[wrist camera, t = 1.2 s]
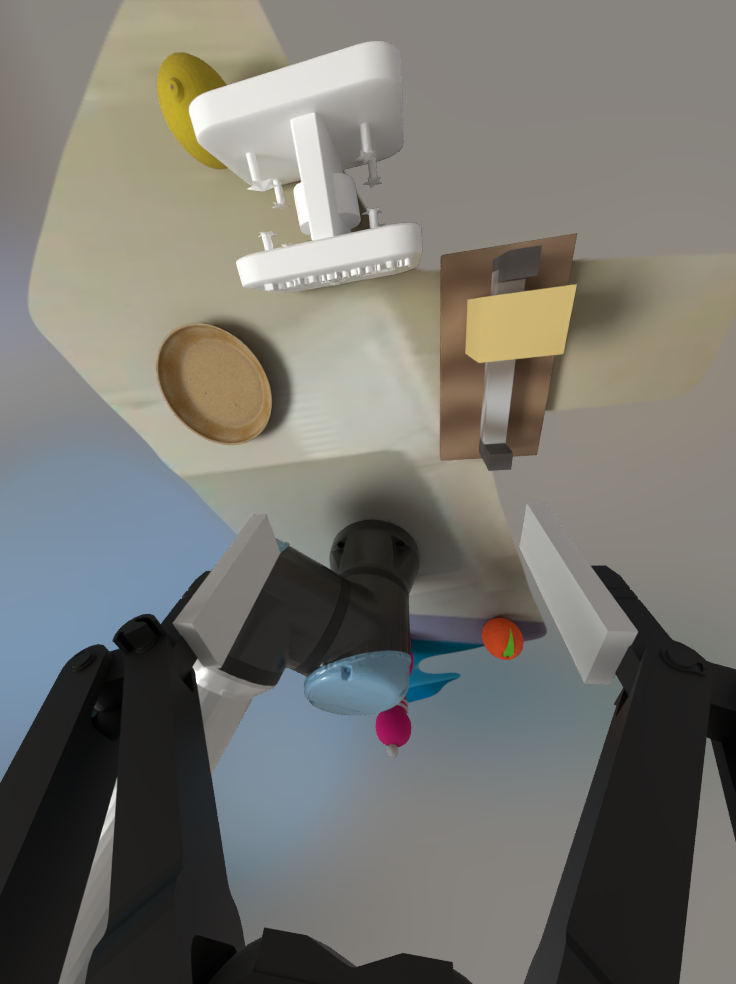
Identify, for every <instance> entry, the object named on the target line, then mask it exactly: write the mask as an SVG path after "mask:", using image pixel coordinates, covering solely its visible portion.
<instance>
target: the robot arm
mask: <svg viewBox="0 0 736 984" xmlns="http://www.w3.org/2000/svg"><path fill="white" fill-rule="evenodd" d="M289 545H290V544H289V543H288V542H285V543H284V542H282V541H280V540H278V539H276V538H275V536H274V534H273V531H272V528H271V525H270V522H269V520H268V517H267V514H262V515H253V516H252V517H251V519H250V520H249V521H248V523H247V524H246V525H245V527H244V528H243V529H242V531H241V532H240V533H239V535H238V536H237V538H236V539H235V540H234V542H233V543H232V544H231V546H230V547H229V548H228V550H227V551H226V552H225V554H224V555H223V556H222V558H221V559H220V560H219V562H218V563H217V564H216V565H215V567H214V568H213V569H212V570H211V571H206V572H204V573H203V574H202V575H201V576H199V577H198V578H197V579H196V580H195V581H194V582H193V584H192V585H191V586H190V587H189V589H188V591H186V592H185V594H184V595H183V596H182V599H180V600H179V601H178V603H177V604H176V605H175V606H174V608H173V609H172V610H171V612H170V613H169V614H168V616H167V617H166V618H165V619H164V621H163V622H162V623H161V624H160V623H159V621H158V620H157V619H156V617H155V616H154V615H151V614H143V615H140V616H138V617H135V618H133V619H132V620H130V621H128V622H127V623H126V624H124V625H123V626H122V627H121V628H120V629H119V630H118V631H117V633H116V634H115V636H114V638H113V642H114V643H115V644H116V645H117V646H118V647H119V648H120V649H117V650H114V651H108V649H106V647H105V646H104V645H100V644H97V645H93V646H90V647H88V648H86V649H83V650H82V651H80V652H79V653H77V654H76V655H74V657H72V658H71V659H70V660H69V661H68V662H67V663H66V664H65V666H64V667H63V669H62V670H61V672H60V674H59V675H58V677H57V679H56V681H55V683H54V685H53V687H52V688H51V690H50V692H49V694H48V696H47V698H46V700H45V701H44V703H43V705H42V707H41V709H40V711H39V713H38V714H37V716H36V718H35V720H34V722H33V724H32V725H31V727H30V729H29V731H28V733H27V735H26V736H25V739H24V740H23V742H22V744H21V746H20V748H19V749H18V751H17V753H16V755H15V757H14V759H13V760H12V762H11V764H10V766H9V768H8V770H7V772H6V773H5V775H4V777H3V779H2V781H1V783H0V984H472V983H471V982H470V981H469V980H468V979H467V978H466V977H464V976H463V975H461V974H460V973H459V972H457V971H456V970H454V969H453V962H449V961H443V960H438V959H432V958H426V957H422V956H416V955H411V954H405V953H402V954H398V955H395V956H392V957H388V958H385V959H382V960H379V961H375V962H372V963H368V964H365V965H362V966H358V967H356V966H355V965H353V964H352V963H351V962H349V961H348V960H347V959H345V958H344V957H342V956H341V955H340V954H338V953H337V952H336V951H334V950H333V949H332V948H330V947H329V946H327V945H325V944H323V943H321V942H319V941H317V940H315V939H313V938H311V937H309V936H307V935H302V934H296V933H291V932H286V931H280V930H275V929H270V928H264V931H263V935H262V938H259V939H257V940H255V941H254V942H252V943H250V944H248V945H247V946H245V942H244V936H243V930H242V925H241V920H240V916H239V913H238V910H237V907H236V905H235V902H234V900H233V898H232V896H231V893H230V890H229V885H228V880H227V875H226V867H225V861H224V854H223V848H222V841H221V835H220V828H219V822H218V816H217V809H216V803H215V796H214V790H213V783H212V777H211V775H212V773H213V771H214V769H215V767H216V766H217V764H218V762H219V760H220V758H221V756H222V755H223V753H224V751H225V749H226V747H227V745H228V744H229V741H230V740H231V738H232V736H233V734H234V732H235V731H236V729H237V727H238V725H239V723H240V721H241V719H242V718H243V716H244V714H245V712H246V710H247V708H248V706H249V705H250V703H251V701H252V699H253V698H254V697H255V696H257V695H259V694H261V693H263V692H266V691H268V690H271V689H273V688H274V687H275V686H276V684H277V683H278V681H279V679H280V677H281V675H282V673H283V671H284V669H285V668H286V667H287V668H290V669H292V670H294V671H296V672H298V673H301V674H303V675H305V676H306V680H305V682H304V693H305V697H306V699H307V700H309V702H310V703H311V704H312V705H313V706H315V707H317V708H319V709H321V710H323V711H327V712H330V713H335V714H341V715H369V714H375V713H379V712H383V711H386V710H388V709H390V708H392V707H394V706H396V705H397V704H398V703H400V702H401V701H402V699H403V698H404V697H405V695H406V693H407V691H408V686H409V669H410V664H411V657H410V624H409V593H410V591H411V588H412V586H413V583H414V581H415V578H416V576H417V573H418V569H419V552H418V548H417V545H416V543H415V542H414V540H413V539H412V537H411V536H410V535H409V534H408V533H407V532H405V531H404V530H403V529H401V528H399V527H397V526H395V525H393V524H390V523H387V522H383V521H375V520H368V521H361V522H356V523H353V524H351V525H349V526H347V527H345V528H344V529H343V530H341V531H340V532H339V533H338V535H337V536H336V538H335V539H334V542H333V545H332V548H331V551H330V568H331V570H330V569H328V568H327V567H325V566H323V565H322V564H320V563H318V562H316V561H315V560H313V559H311V558H309V557H308V556H306V555H304V554H303V553H301V552H299V551H297V550H296V549H294V548H292V547H290V546H289ZM519 548H520V550H521V553H522V554H523V556H524V558H525V561H526V563H527V565H528V567H529V569H530V571H531V573H532V575H533V577H534V579H535V582H536V584H537V586H538V588H539V590H540V592H541V594H542V596H543V598H544V600H545V602H546V604H547V607H548V608H549V610H550V613H551V615H552V617H553V619H554V621H555V623H556V625H557V627H558V629H559V631H560V633H561V635H562V637H563V640H564V642H565V644H566V646H567V648H568V650H569V652H570V654H571V656H572V658H573V661H574V663H575V665H576V667H577V669H578V671H579V673H580V675H581V677H582V679H583V681H584V683H585V684H608V685H610V684H611V682H612V680H613V679H614V677H615V675H617V677H618V679H619V681H620V682H621V684H622V686H623V689H622V691H621V693H620V694H619V696H618V698H617V700H616V702H615V703H614V705H616V709H615V712H614V715H613V718H612V721H611V724H610V727H609V731H608V734H607V737H606V740H605V743H604V746H603V749H602V752H601V756H600V759H599V762H598V765H597V768H596V771H595V774H594V777H593V780H592V783H591V787H590V790H589V793H588V796H587V799H586V803H585V805H584V809H583V812H582V815H581V818H580V821H579V824H578V827H577V830H576V833H575V836H574V840H573V843H572V846H571V849H570V852H569V855H568V858H567V862H566V865H565V868H564V871H563V874H562V877H561V880H560V883H559V886H558V889H557V892H556V896H555V899H554V902H553V905H552V908H551V911H550V914H549V917H548V920H547V924H546V927H545V930H544V933H543V936H542V939H541V942H540V944H539V947H538V949H537V951H536V953H535V955H534V958H533V960H532V962H531V965H530V967H529V970H528V973H527V976H526V979H525V982H524V984H679V980H680V971H681V962H682V953H683V943H684V935H685V926H686V916H687V908H688V899H689V890H690V881H691V872H692V863H693V853H694V845H695V836H696V827H697V818H698V809H699V800H700V791H701V782H702V773H703V764H704V755H705V746H706V737H707V738H710V739H711V742H712V746H713V750H714V754H715V758H716V763H717V767H718V770H719V775H720V779H721V783H722V787H723V791H724V795H725V799H726V804H727V808H728V811H729V816H730V820H731V824H732V828H733V832H734V836H735V840H736V669H732V668H729V667H725V666H721V665H718V664H714V663H711V662H708V661H706V660H705V659H704V658H703V657H702V656H701V655H699V654H698V653H697V652H696V651H695V650H693V649H691V648H689V647H688V646H686V645H684V644H682V643H680V642H677V641H674V640H672V639H671V638H670V637H669V635H668V634H667V633H666V632H665V630H664V629H663V628H662V627H661V626H660V624H659V623H658V622H657V621H656V619H655V618H654V617H653V616H652V614H651V613H650V612H649V611H648V610H647V608H646V607H645V606H644V605H643V603H642V602H641V601H640V600H638V597H637V596H636V595H635V593H634V592H633V591H632V590H630V587H629V586H628V585H627V584H626V583H625V581H624V580H623V579H622V577H621V576H620V575H618V574H617V573H616V572H614V571H613V570H611V569H610V568H608V567H607V566H590V565H589V563H588V562H587V561H586V559H585V558H584V556H583V555H582V554H581V552H580V551H579V549H578V548H577V547H576V545H575V544H574V543H573V541H572V540H571V539H570V537H569V536H568V534H567V533H566V532H565V530H564V529H563V527H562V526H561V525H560V523H559V522H558V521H557V519H556V518H555V517H554V515H553V514H552V512H551V511H550V510H549V508H548V507H547V506H546V504H545V503H527V506H526V511H525V518H524V523H523V529H522V535H521V541H520V546H519Z"/></svg>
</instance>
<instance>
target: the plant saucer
mask: <svg viewBox="0 0 736 984" xmlns="http://www.w3.org/2000/svg"><path fill="white" fill-rule="evenodd" d="M156 373H157V380H158V384H159V387H160V390H161V392H162V395H163V397H164V399H165V401H166V403H167V404H168V406H169V408H170V409H171V411H172V412H173V413H174V415H175V416H176V417H177V418H178V419H179V420H180V421H181V422H182V423H183V424H184V425H185V426H186V427H187V428H189V429H190V430H191V431H193V432H194V433H196V434H197V435H199V436H201V437H203V438H205V439H207V440H209V441H212V442H215V443H219V444H224V445H237V444H243V443H246V442H248V441H250V440H252V439H254V438H255V437H257V436H258V435H259V434H260V433H261V432H262V431H263V430H264V428H265V427H266V425H267V423H268V421H269V418H270V415H271V410H272V394H271V388H270V384H269V381H268V378H267V376H266V373H265V371H264V369H263V367H262V365H261V364H260V362H259V361H258V359H257V358H256V356H255V355H254V354H253V353H252V351H251V350H250V349H249V348H248V347H247V346H246V345H245V344H244V343H243V342H242V341H241V340H239V339H238V338H237V337H235V336H234V335H232V334H231V333H229V332H227V331H225V330H223V329H221V328H218V327H216V326H213V325H208V324H202V323H192V324H186V325H183V326H180V327H178V328H176V329H175V330H173V331H171V332H170V333H169V334H168V335H167V336H166V337H165V339H164V340H163V342H162V343H161V346H160V348H159V350H158V354H157V360H156Z"/></svg>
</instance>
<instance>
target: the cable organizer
mask: <svg viewBox="0 0 736 984" xmlns="http://www.w3.org/2000/svg"><path fill="white" fill-rule="evenodd" d="M402 102H403V98H402V73H401V56H400V52H399V50H398V49H397V47H395V46H394V45H392V44H390V43H387V42H381V41H371V42H365V43H360V44H357V45H354V46H351V47H348V48H345V49H341V50H338V51H335V52H332V53H329V54H325V55H322V56H319V57H316V58H313V59H310V60H306V61H303V62H300V63H297V64H293V65H290V66H287V67H284V68H281V69H278V70H274V71H271V72H268V73H265V74H262V75H258V76H255V77H252V78H249V79H246V80H243V81H239V82H236V83H233V84H230V85H227V86H223V87H220V88H217V89H214V90H211V91H208V92H205V93H203V94H201V95H199V96H197V97H196V98H195V99H194V100H193V101H192V102H191V104H190V106H189V115H190V118H191V121H192V125H193V128H194V132H195V135H196V138H197V141H198V143H199V144H200V145H201V146H202V147H203V148H204V149H205V150H207V151H208V152H209V153H210V154H212V155H213V156H214V157H215V158H217V159H218V160H219V161H220V162H222V163H223V164H224V165H225V166H227V167H228V168H229V169H230V170H232V171H233V172H234V173H235V174H237V175H238V176H239V177H240V178H242V179H243V180H244V181H245V182H247V183H248V184H249V185H251V187H249V188H248V189H249V190H257V191H263V192H264V191H265V190H268V189H271V188H274V189H275V193H276V198H277V202H278V203H274V202H273V203H274V205H275V206H274V207H272V208H279V209H281V210H283V209H284V208H286V207H291V206H288V205H286V204H285V199H284V194H283V189H282V185H284V184H288V183H292V182H296V181H300V180H301V183H299V184H297V185H296V186H295V187H294V190H293V193H294V198H295V203H296V208H297V213H298V219H299V224H300V229H301V231H302V232H303V233H304V234H306V235H309V236H311V238H312V241H309V242H304V243H300V244H295V245H293V243H289V244H281V245H282V247H280V248H276V249H273V244H272V240H271V237H272V236H276V235H277V234H273V231H270V232H259V233H260V234H261V235H260V236H258V237H262V239H263V243H264V247H265V251H262V252H257V253H253V254H250V255H247V256H244V257H242V258H240V259H239V260H237V262H236V264H237V268H238V271H239V275H240V278H241V282H242V285H243V286H244V287H246V288H251V289H258V290H265V291H272V292H280V293H291V292H299V291H304V290H310V289H315V288H321V287H326V286H334V285H339V284H343V283H348V282H354V281H359V280H365V279H372V278H377V277H383V276H388V275H394V274H397V273H401V272H405V271H408V270H411V269H414V268H416V267H417V266H418V265H419V262H420V258H421V255H422V230H421V225H419V224H417V223H397V224H390V225H386V226H384V224H382V225H378V215H377V213H382V212H380V211H378V210H379V209H380V208H381V207H378V208H374V209H370V208H367V212H365V213H362V214H368V215H369V221H370V229H366V230H361V231H357V232H352V233H351V229H353V228H355V227H356V226H357V225H359V223H360V221H361V219H360V212H359V206H358V199H357V193H356V187H355V182H354V180H353V178H351V177H350V176H349V175H346V174H343V170H344V169H348V168H352V167H357V166H360V165H365V164H368V166H369V177H370V178H368V182H367V183H365V184H363V185H370V187H371V188H372V187H373V186H374V185H375V184H381V183H380V182H379V179H380V177H379V178H377V167H376V162H377V161H380V160H383V159H386V158H389V157H391V156H392V155H394V154H396V153H397V152H398V151H400V149H401V148H402V147H403V105H402V104H403V103H402Z"/></svg>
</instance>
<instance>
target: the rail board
mask: <svg viewBox="0 0 736 984" xmlns="http://www.w3.org/2000/svg"><path fill="white" fill-rule="evenodd" d="M576 237H577V233H576V234H570V235H564V236H558V237H551V238H545V239H539V240H533V241H527V242H520V243H514V244H508V245H502V246H495V247H489V248H483V249H478V250H471V251H464V252H458V253H452V254H446V255H442V256H441V309H440V459H441V461H444V460H461V459H477V458H482V459H483V461H484V462H485V464H486V466H487V468H488V470H489V471H492V470H509V469H511V465H512V458H513V456H527V455H537V451H538V446H539V440H540V435H541V430H542V424H543V419H544V413H545V408H546V402H547V397H548V391H549V386H550V380H551V375H552V369H553V364H554V358H555V355H550V356H540V357H531V358H521V359H512V360H502V361H493V362H484V363H478V362H477V361H475V360H474V359H472V358H471V357H470V356H468V355H467V354H465V348H466V325H467V302H468V300H469V299H475V298H481V297H488V296H495V295H502V294H509V293H517V292H524V291H531V290H538V289H546V288H553V287H560V286H567V285H568V281H569V276H570V270H571V265H572V259H573V254H574V248H575V243H576Z"/></svg>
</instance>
